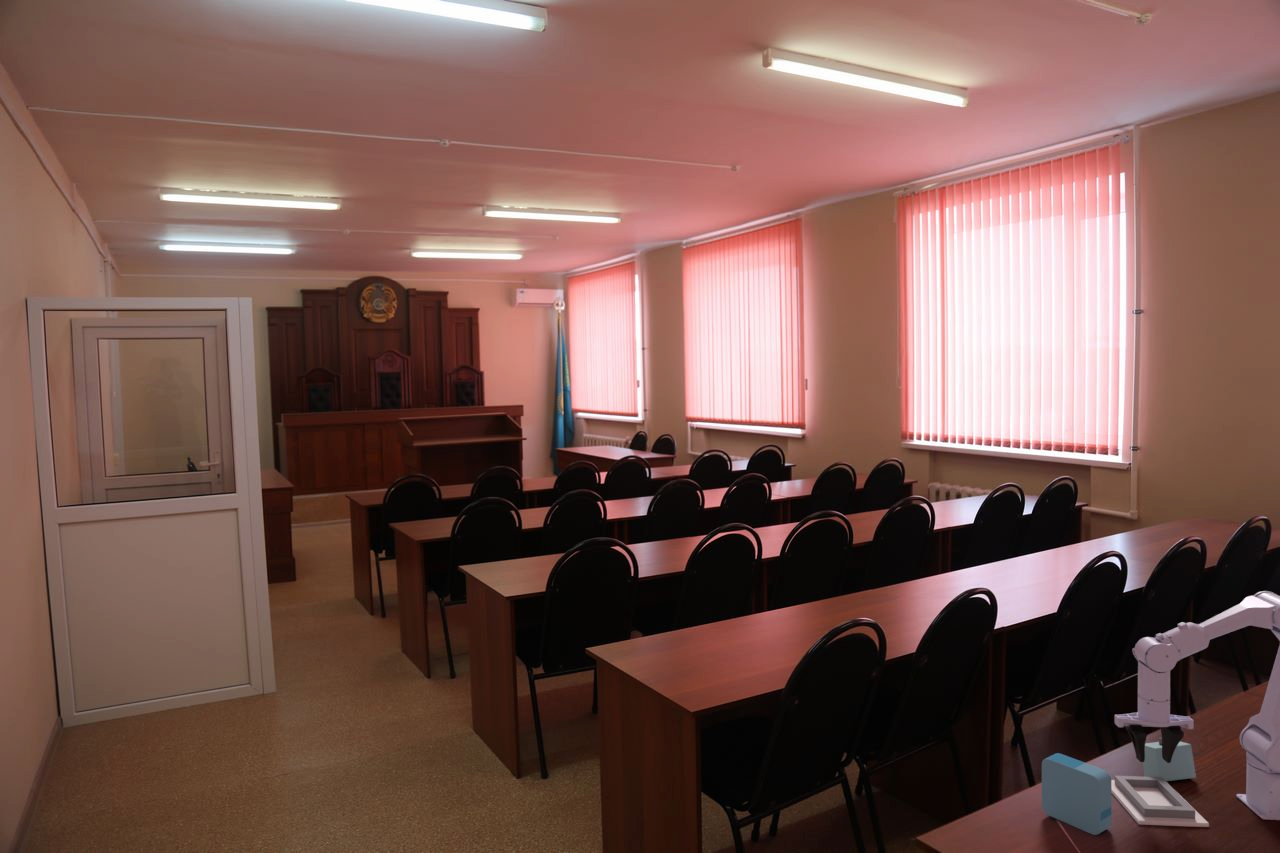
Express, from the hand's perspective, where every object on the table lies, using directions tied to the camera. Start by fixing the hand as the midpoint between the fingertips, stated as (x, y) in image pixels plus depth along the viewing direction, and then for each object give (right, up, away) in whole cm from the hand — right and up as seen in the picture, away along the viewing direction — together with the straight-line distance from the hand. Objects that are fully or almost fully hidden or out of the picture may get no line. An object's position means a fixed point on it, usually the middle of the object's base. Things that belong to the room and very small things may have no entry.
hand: (1153, 760), depth 173 cm
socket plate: (0, -9, +1) cm, 9 cm away
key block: (+10, -8, +11) cm, 17 cm away
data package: (-19, -11, -5) cm, 22 cm away
